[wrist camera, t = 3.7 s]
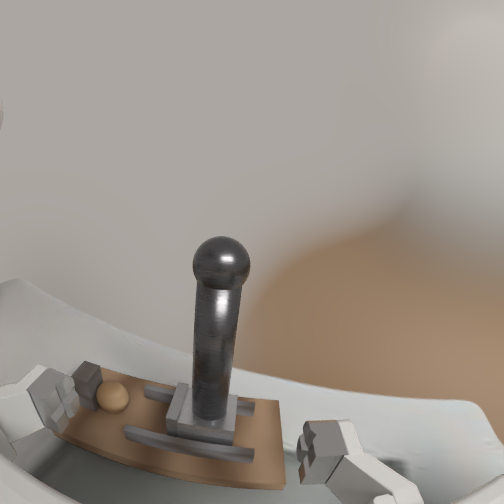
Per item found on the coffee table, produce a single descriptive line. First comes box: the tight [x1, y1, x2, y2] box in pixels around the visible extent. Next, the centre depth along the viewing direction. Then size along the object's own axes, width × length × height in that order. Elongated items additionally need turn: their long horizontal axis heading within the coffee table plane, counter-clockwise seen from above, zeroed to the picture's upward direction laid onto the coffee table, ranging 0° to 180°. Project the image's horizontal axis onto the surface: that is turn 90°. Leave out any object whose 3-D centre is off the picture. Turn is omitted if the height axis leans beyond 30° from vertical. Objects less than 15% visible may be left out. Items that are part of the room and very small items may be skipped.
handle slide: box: [166, 236, 250, 446], centre depth 21 cm, size 6×5×19 cm
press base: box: [53, 361, 286, 490], centre depth 23 cm, size 23×12×6 cm, turn 89°
